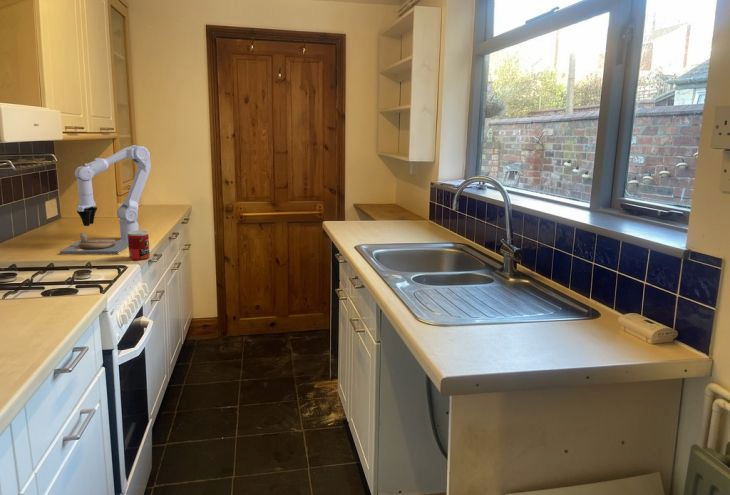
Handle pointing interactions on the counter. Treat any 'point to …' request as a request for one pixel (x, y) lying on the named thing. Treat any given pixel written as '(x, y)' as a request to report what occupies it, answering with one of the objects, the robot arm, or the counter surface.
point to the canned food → (138, 245)
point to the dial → (95, 242)
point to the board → (110, 250)
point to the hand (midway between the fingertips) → (88, 224)
